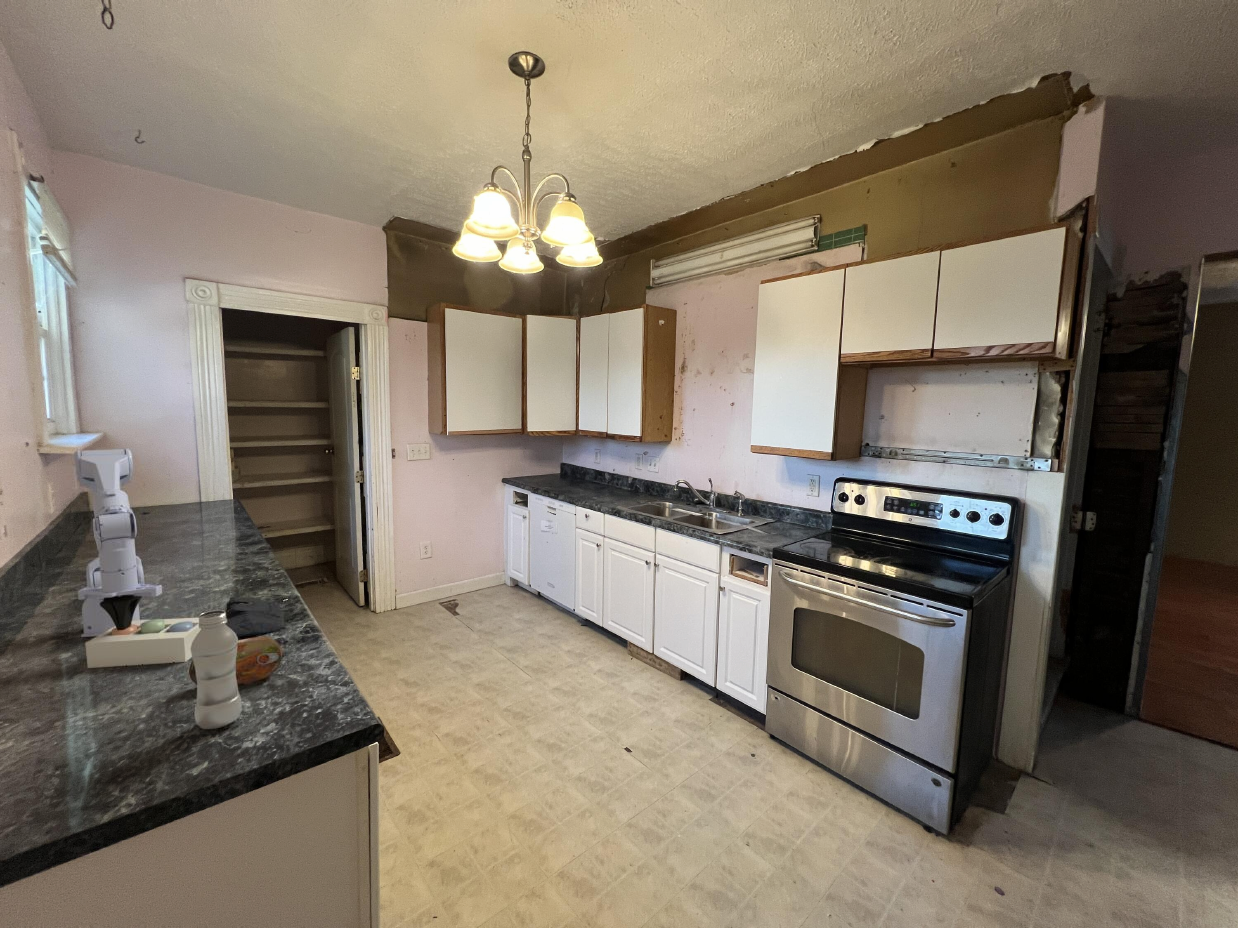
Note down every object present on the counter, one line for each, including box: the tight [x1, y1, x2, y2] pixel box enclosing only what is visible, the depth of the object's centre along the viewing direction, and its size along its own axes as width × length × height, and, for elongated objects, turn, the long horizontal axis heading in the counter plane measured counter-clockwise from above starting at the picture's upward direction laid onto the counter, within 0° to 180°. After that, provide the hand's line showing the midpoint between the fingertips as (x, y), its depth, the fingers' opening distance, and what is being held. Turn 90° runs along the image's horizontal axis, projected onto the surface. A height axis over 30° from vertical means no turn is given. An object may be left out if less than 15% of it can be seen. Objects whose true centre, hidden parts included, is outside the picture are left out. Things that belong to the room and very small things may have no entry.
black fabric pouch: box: [224, 596, 287, 638], centre depth 133 cm, size 15×22×5 cm
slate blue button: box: [169, 621, 193, 632], centre depth 117 cm, size 4×4×3 cm
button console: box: [84, 617, 201, 669], centre depth 116 cm, size 18×11×6 cm, turn 101°
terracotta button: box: [111, 624, 137, 636], centre depth 115 cm, size 4×4×3 cm
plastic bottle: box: [191, 609, 243, 730], centre depth 91 cm, size 6×7×20 cm
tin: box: [188, 636, 283, 686], centre depth 105 cm, size 15×3×8 cm, turn 117°
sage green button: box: [140, 618, 165, 634], centre depth 116 cm, size 4×4×3 cm
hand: (124, 628), depth 114 cm, fingers closed, pressing on terracotta button
